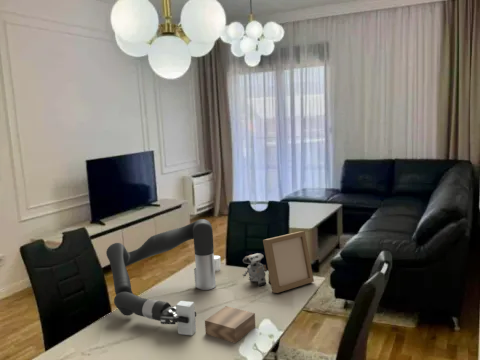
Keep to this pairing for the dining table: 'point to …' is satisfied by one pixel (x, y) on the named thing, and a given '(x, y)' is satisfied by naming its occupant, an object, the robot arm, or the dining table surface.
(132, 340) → the dining table surface
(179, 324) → the skincare box
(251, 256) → the figurine
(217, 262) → the white round piece
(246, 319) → the walnut block
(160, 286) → the dining table surface
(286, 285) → the photo frame
